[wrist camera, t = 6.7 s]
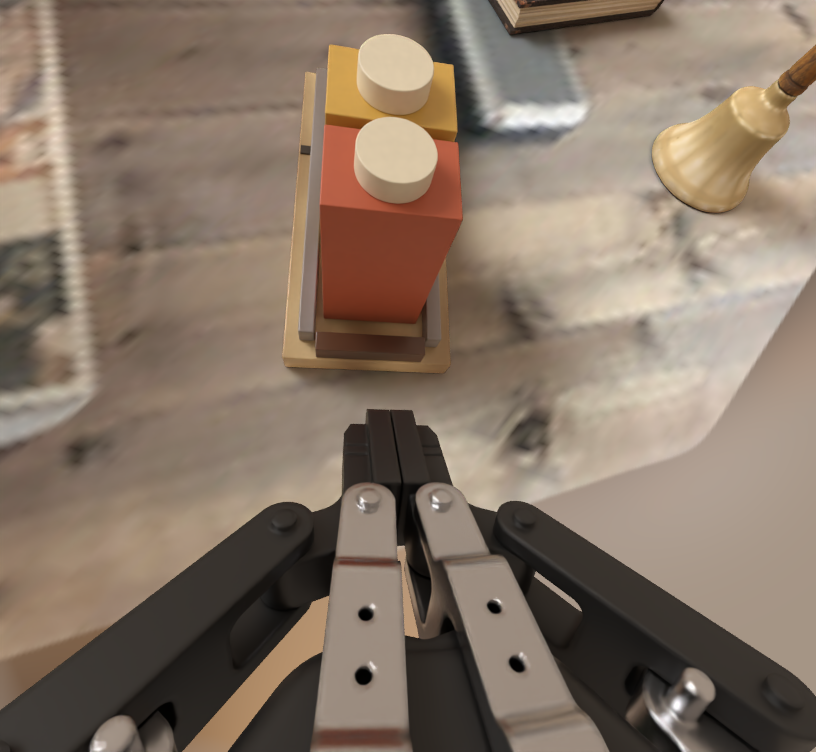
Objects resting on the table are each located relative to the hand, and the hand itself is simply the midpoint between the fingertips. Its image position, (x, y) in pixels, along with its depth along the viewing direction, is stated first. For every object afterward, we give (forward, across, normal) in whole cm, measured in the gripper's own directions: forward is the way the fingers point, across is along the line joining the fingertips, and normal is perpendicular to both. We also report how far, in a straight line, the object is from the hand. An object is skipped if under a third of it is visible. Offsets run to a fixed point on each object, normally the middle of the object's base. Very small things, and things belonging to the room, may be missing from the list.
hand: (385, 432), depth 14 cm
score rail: (+17, 0, -4) cm, 17 cm away
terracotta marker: (+12, 0, -1) cm, 12 cm away
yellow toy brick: (+14, 0, -4) cm, 15 cm away
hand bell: (+23, -26, -10) cm, 36 cm away
